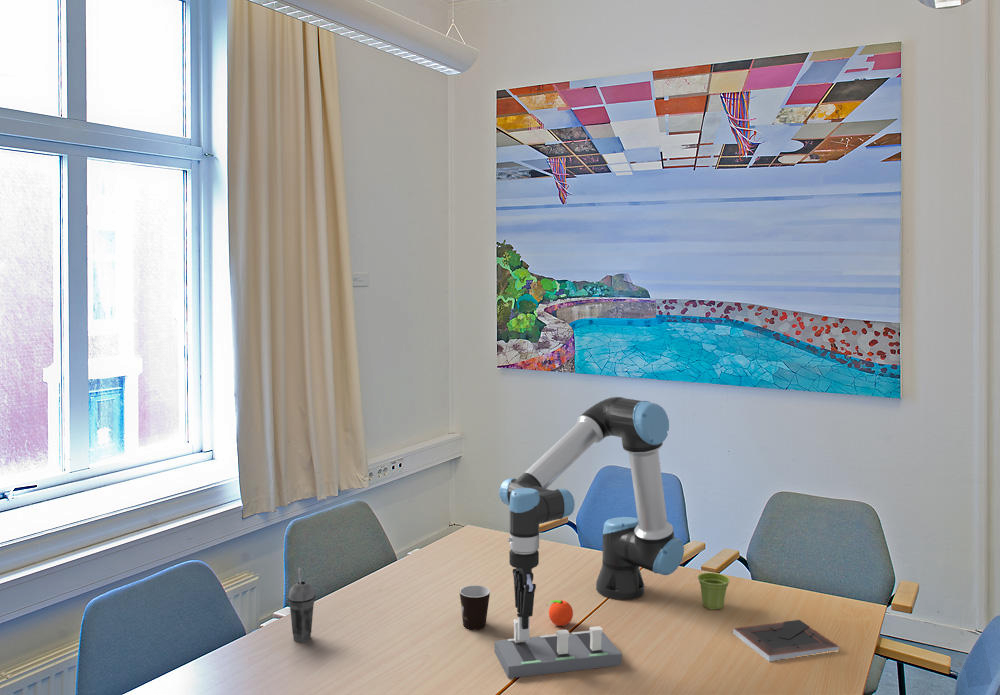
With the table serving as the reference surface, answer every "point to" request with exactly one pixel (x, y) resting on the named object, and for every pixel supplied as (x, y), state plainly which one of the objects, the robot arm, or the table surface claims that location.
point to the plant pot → (713, 589)
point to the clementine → (560, 612)
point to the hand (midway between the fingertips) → (523, 638)
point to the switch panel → (554, 655)
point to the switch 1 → (516, 631)
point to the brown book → (784, 640)
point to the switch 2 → (595, 638)
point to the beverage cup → (301, 609)
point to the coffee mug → (474, 606)
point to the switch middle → (562, 641)
